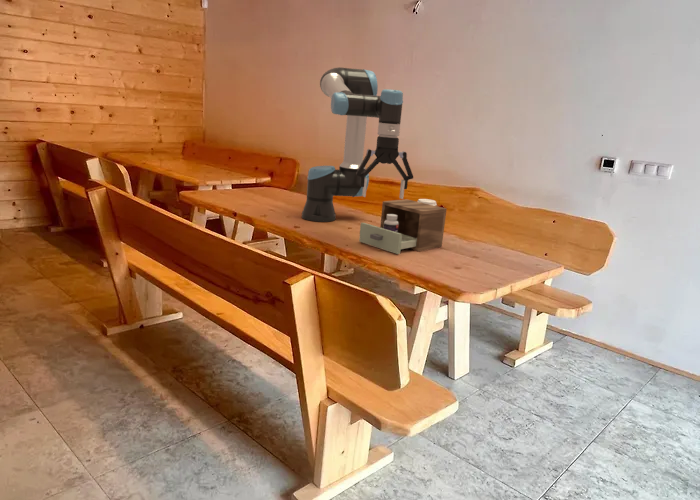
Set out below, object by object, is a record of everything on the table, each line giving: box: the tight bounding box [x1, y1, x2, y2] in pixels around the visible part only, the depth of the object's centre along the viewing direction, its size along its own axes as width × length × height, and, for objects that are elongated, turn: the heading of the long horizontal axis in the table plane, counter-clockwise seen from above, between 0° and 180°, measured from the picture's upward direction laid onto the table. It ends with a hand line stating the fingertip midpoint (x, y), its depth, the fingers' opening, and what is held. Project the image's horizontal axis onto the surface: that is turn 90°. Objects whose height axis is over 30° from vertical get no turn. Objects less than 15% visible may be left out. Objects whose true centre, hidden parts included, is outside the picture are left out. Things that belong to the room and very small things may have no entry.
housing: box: [379, 198, 448, 252], centre depth 201 cm, size 20×14×15 cm
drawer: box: [358, 222, 417, 255], centre depth 194 cm, size 20×16×7 cm
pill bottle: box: [384, 214, 399, 233], centre depth 193 cm, size 5×5×10 cm
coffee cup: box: [417, 198, 438, 206], centre depth 214 cm, size 8×8×15 cm
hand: (382, 197), depth 186 cm, fingers open, 13 cm apart
